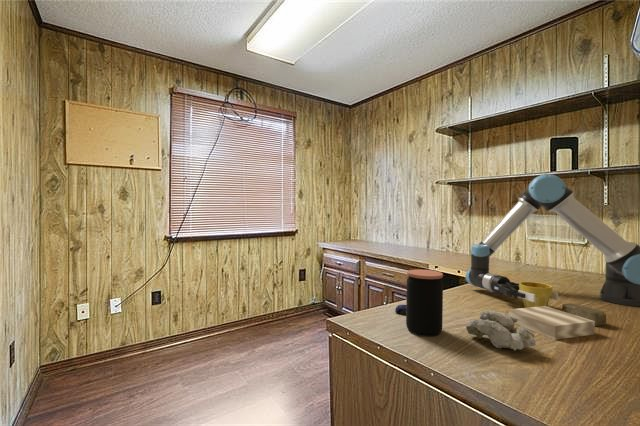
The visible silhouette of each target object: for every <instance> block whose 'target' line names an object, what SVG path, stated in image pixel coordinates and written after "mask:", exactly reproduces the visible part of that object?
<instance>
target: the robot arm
mask: <svg viewBox="0 0 640 426" xmlns="http://www.w3.org/2000/svg"><path fill="white" fill-rule="evenodd" d="M574 193H575V192H574V191H573V190H572V189H570V188H569V186H567V185H566V184H565V182H564V181H563V179H562V178H561V177H559V176H557V175H553V174H547V173H545V174H541V175H538V176H536V177H535V178H533V179H532V180H531V181H530V182H529V183H528V184H527V186H526V188H524V191H523V192H522V193H521V195H519V197H518V201H517V202H516V203H515V205H513V207H512V208H511V209H510V210H509V211H508V212H507V213H506V214H505V215H504V216H503V217H502V218H501V219H500V220H499V222H498V223H497V224H496V225H495V226H494V227H493V228H492V229H491V230H490V231H489V233H487V235H486V236H485V237H484V238H483V239H482V240H481V241H480V242H479V243H478V244H472V245H471V249H470V269H468V270H467V271H466V273H465V276H464V277H465V281H466V283H468V284H469V285H471V286H474V287H477V288H480V289H484V290H487V291H490V293H493V292H494V293H496V294H499V295H505V296H506V297H508V298H513V299H514V300H517V299H518V298H519V299H522V300H523V299H525V300H528V301H531V302H535V294H532V293H528V292H524V291H521V290H519V282H518V283H517V282H514V281H510V278H508V277H506V276H505V275H504V276H503V275H500V274H497V273H492V272H490V257H491V256H492V255H493V254H494V253H495V252H496V251H497V249H499V248H500V247H501V246H502V245H503V243H505V242H506V240H507V239H508V238H509V237H510V236H511V235H512V234H513V233H514V232H515V231H516V230H517V229H518V228H519V227H520V226H521V225H522V224H523V223H524V222H525V221H526V220H527V219H528V217H530V216H531V215H532V213H533V212H537V211H539V210H540V209H541V208H543V209H545V210H546V211H547V212H549V213H550V212H551V213H555V214H556V215H557V216H559V218H561V219H562V220H563V221H565V223H567V225H569V226H570V227H572V228H573V229H574V230H575V231H576V232H577V233H578V234H579V235H581V236H582V237H583V238H584V239H585V240H587V241H588V242H589V243H590V244H591V245H592V246H594V247H595V248H596V250H598V251H599V252H600V253H602V254H603V255H604V262H605V273H604V274H605V275H604V276H605V278H604V280H605V281H604V282H603V285H602V288H601V289H600V291H599V299H601V300H602V301H605V302H609V303H612V304H617V305H623V306H630V307H640V245H639V244H637V243H636V242H635V241H633V242H632V241H627V240H626V239H624V237H622V236H620V235H619V234H618V233H617V232H616V231H615V230H614V229H613V228H611V227H610V226H609V225H608V224H606V223H605V222H604V221H602V220H601V219H600V218H599V217H598V216H597V215H595V214H594V213H593V212H592V211H591V210H590V209H588V208H587V207H586V206H584V205H583V204H582V203H581V202H580V201H578V200H577V199H576V198H575V197H574ZM550 299H551V300H555V301H558V300H559V292H557V291H553V290H552V296H550Z"/></svg>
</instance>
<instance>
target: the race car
mask: <svg viewBox="0 0 640 426" xmlns="http://www.w3.org/2000/svg"><path fill="white" fill-rule="evenodd" d="M394 310H395V311H394V312H395V313H396V314H399V315H401V316H406V304H399V305H397V306H396V307H395V308H394Z"/></svg>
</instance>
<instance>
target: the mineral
mask: <svg viewBox="0 0 640 426" xmlns="http://www.w3.org/2000/svg"><path fill="white" fill-rule="evenodd" d="M517 321H518V319H517V318H514V317H510V316H509V315H508V314H506V313H504V312H501V311H499V312H498V311H496V310H490V309H483V310H482V311H481V312H480V316H479V318H476V319H472V320H470V321H469V322H468V323H467V324H466V325H465V329H466V331H467V334H469V335H473V336H475V337H476V338H478V339H483V336H487V337H488V339H489V340H490V342H491V344H492V346H494V347H495V348H497V349H499V350H500V349H502V348H504V349H510V350H514V351H515V352H517V350H519V351H520V350H523V349H524V347H536V345H537V343H536V340H535V337H536V335H535V334H534V333H533V331H532V330H529V329H527V328H524V327H522V326H519V325H517V327H515V325H516V324H514V323H516V322H517Z"/></svg>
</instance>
